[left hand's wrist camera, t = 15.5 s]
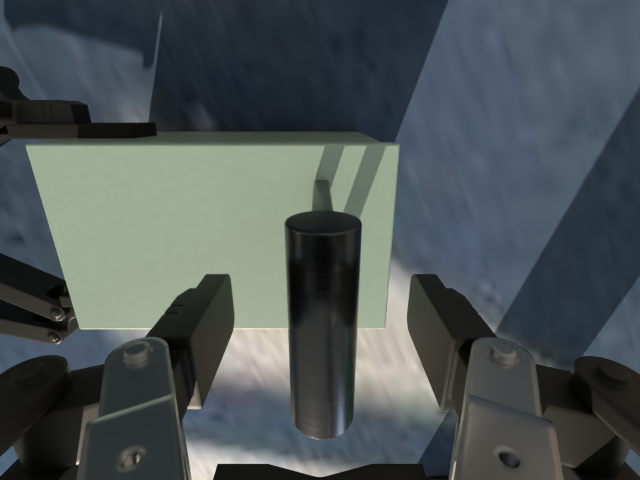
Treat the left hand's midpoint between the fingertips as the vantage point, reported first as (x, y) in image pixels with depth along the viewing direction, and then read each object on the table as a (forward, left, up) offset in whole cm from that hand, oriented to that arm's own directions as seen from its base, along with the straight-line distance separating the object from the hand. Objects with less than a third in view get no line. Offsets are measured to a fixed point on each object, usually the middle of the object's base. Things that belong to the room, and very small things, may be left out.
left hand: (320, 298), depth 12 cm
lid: (-3, +4, -6) cm, 8 cm away
